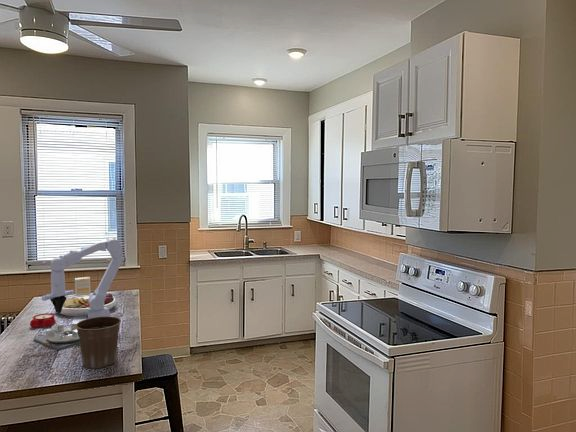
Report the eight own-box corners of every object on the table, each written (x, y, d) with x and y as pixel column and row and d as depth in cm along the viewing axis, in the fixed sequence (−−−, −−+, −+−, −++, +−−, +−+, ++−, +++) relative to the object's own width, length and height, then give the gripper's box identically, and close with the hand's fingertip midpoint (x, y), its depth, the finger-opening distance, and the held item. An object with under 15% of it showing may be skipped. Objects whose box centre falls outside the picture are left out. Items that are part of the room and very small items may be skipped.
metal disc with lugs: (38, 338, 194) (38, 329, 194) (74, 327, 208) (74, 319, 208) (60, 345, 185) (60, 336, 185) (96, 334, 199) (96, 326, 199)
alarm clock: (58, 312, 225) (51, 314, 211) (57, 325, 224) (51, 327, 210) (35, 313, 222) (27, 315, 208) (34, 326, 221) (26, 329, 207)
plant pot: (71, 373, 162) (70, 330, 160) (81, 356, 177) (80, 317, 176) (118, 369, 165) (117, 327, 164) (123, 353, 181) (123, 315, 180)
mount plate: (77, 328, 211) (76, 326, 210) (101, 337, 199) (101, 334, 199) (33, 340, 194) (33, 337, 194) (57, 350, 183) (57, 347, 183)
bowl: (62, 321, 222) (62, 306, 221) (50, 308, 245) (50, 294, 245) (122, 312, 241) (122, 297, 240) (106, 300, 264) (105, 287, 264)
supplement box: (89, 297, 269) (89, 276, 268) (90, 299, 264) (90, 278, 264) (74, 299, 264) (74, 277, 264) (75, 301, 260) (75, 279, 259)
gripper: (67, 280, 212) (67, 307, 213) (37, 285, 199) (38, 314, 200) (76, 281, 208) (76, 309, 209) (46, 287, 196) (47, 317, 197)
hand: (58, 312), depth 205 cm, fingers closed
